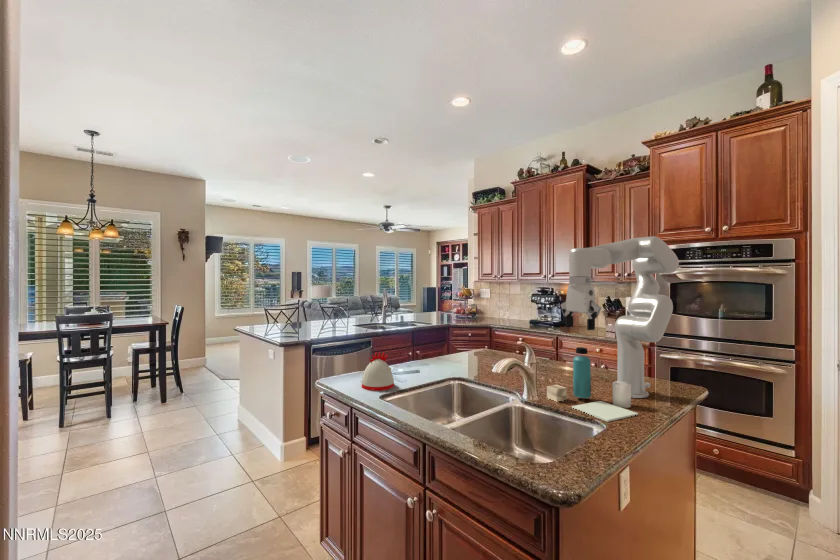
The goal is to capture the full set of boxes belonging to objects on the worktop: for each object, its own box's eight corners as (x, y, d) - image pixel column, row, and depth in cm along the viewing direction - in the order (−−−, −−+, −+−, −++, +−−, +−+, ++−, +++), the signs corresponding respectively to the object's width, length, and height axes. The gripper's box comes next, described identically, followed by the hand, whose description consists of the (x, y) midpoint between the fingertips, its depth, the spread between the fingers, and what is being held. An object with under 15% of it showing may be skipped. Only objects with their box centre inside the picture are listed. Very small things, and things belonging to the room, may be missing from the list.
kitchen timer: (396, 389, 161) (396, 353, 161) (363, 391, 158) (363, 355, 158) (391, 381, 174) (391, 348, 174) (360, 383, 171) (360, 349, 171)
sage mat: (600, 402, 144) (600, 400, 144) (638, 415, 131) (638, 413, 131) (571, 407, 138) (571, 406, 138) (607, 421, 124) (607, 420, 124)
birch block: (556, 397, 151) (556, 384, 151) (566, 400, 146) (566, 387, 146) (546, 399, 149) (546, 386, 149) (556, 402, 144) (556, 389, 144)
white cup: (619, 401, 145) (619, 380, 145) (634, 406, 140) (634, 384, 140) (609, 403, 143) (609, 382, 143) (623, 408, 137) (623, 386, 137)
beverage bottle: (593, 402, 144) (593, 349, 144) (574, 401, 145) (574, 348, 145) (589, 397, 150) (589, 346, 150) (571, 396, 152) (571, 345, 152)
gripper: (607, 281, 135) (607, 330, 135) (568, 281, 151) (568, 325, 150) (592, 281, 132) (592, 331, 132) (554, 281, 147) (554, 326, 147)
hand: (579, 328), depth 141 cm, fingers open, 9 cm apart
